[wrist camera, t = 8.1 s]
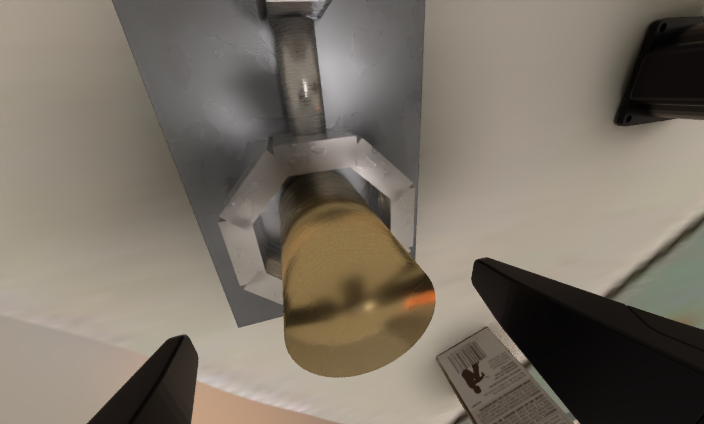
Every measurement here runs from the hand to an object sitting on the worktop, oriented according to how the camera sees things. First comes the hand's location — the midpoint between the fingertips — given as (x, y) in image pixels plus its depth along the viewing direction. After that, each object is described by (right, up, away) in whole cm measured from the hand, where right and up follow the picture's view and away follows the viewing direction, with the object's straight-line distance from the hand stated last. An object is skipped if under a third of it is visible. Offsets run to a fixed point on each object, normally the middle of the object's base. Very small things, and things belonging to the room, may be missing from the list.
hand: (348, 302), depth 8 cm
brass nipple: (-2, +3, +6) cm, 7 cm away
